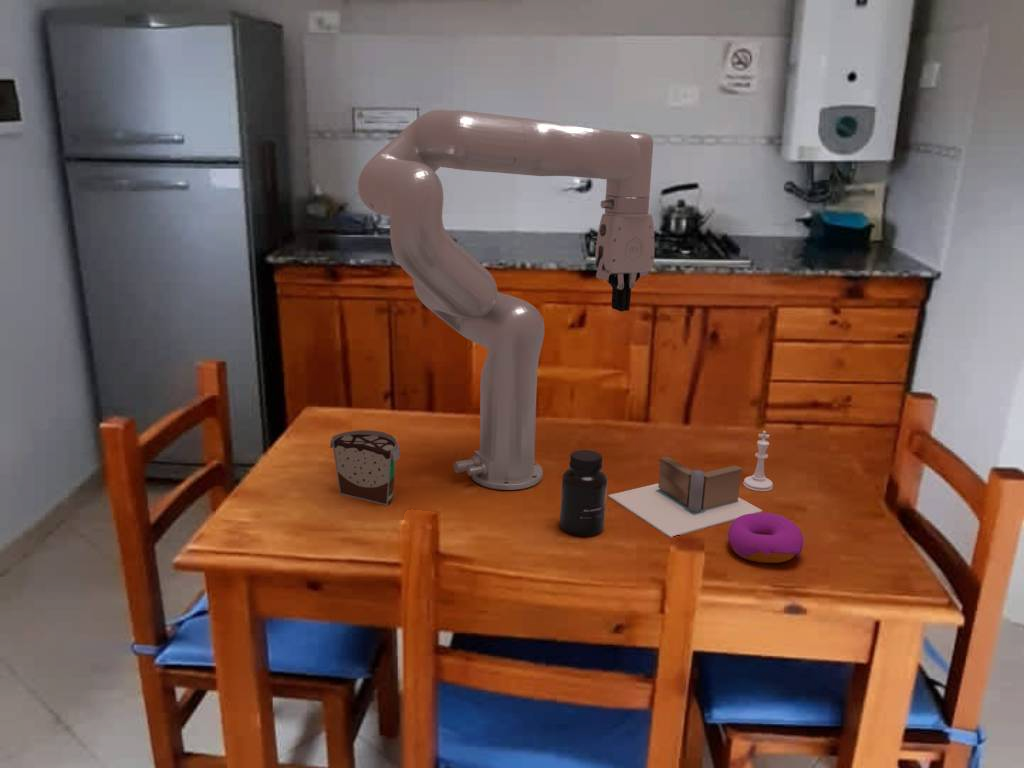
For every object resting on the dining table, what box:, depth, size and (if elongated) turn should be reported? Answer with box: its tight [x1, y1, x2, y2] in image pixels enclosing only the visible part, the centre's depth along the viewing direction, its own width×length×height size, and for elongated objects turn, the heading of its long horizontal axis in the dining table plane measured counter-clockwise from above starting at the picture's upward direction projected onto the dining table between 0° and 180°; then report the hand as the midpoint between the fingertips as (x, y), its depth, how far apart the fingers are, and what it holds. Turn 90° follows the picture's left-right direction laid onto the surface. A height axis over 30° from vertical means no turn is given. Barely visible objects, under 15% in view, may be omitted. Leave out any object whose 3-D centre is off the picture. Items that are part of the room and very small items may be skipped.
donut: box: [727, 512, 804, 564], centre depth 123 cm, size 11×10×5 cm
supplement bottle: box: [559, 449, 608, 538], centre depth 128 cm, size 7×7×12 cm
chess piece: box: [742, 430, 774, 492], centre depth 144 cm, size 5×5×10 cm
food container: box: [329, 429, 401, 506], centre depth 138 cm, size 12×6×10 cm, turn 65°
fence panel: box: [658, 456, 693, 505], centre depth 139 cm, size 8×2×5 cm, turn 27°
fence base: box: [607, 464, 764, 539], centre depth 137 cm, size 19×16×7 cm
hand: (620, 309), depth 152 cm, fingers closed
